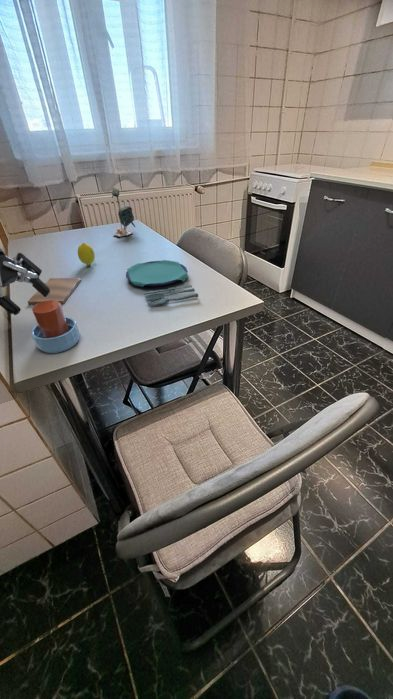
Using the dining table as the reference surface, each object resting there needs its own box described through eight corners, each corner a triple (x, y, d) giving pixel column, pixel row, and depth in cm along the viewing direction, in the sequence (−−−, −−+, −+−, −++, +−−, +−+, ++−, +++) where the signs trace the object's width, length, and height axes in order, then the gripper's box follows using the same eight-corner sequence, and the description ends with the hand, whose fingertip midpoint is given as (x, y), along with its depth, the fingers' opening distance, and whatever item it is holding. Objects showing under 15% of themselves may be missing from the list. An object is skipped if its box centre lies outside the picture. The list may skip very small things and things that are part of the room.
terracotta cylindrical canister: (52, 349, 64) (38, 315, 59) (41, 339, 67) (27, 307, 62) (75, 338, 68) (64, 305, 62) (64, 329, 71) (52, 297, 66)
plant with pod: (139, 234, 136) (133, 185, 124) (115, 238, 132) (106, 188, 120) (134, 230, 142) (127, 183, 130) (111, 234, 138) (102, 185, 126)
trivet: (63, 304, 83) (62, 300, 82) (28, 304, 83) (27, 301, 82) (81, 280, 96) (80, 277, 95) (51, 281, 96) (50, 278, 95)
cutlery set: (178, 262, 106) (178, 256, 105) (205, 299, 83) (205, 291, 82) (123, 270, 102) (122, 264, 100) (135, 311, 79) (134, 303, 77)
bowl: (49, 360, 63) (42, 344, 60) (30, 342, 68) (24, 328, 66) (88, 340, 68) (84, 326, 66) (68, 326, 73) (63, 312, 71)
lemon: (94, 268, 104) (88, 245, 99) (78, 268, 104) (72, 245, 99) (98, 262, 108) (93, 240, 104) (84, 262, 109) (78, 240, 104)
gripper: (-65, 243, 52) (12, 309, 55) (2, 222, 62) (62, 279, 66) (-69, 269, 56) (2, 328, 60) (-6, 245, 67) (51, 297, 71)
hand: (34, 302), depth 63 cm, fingers open, 8 cm apart
